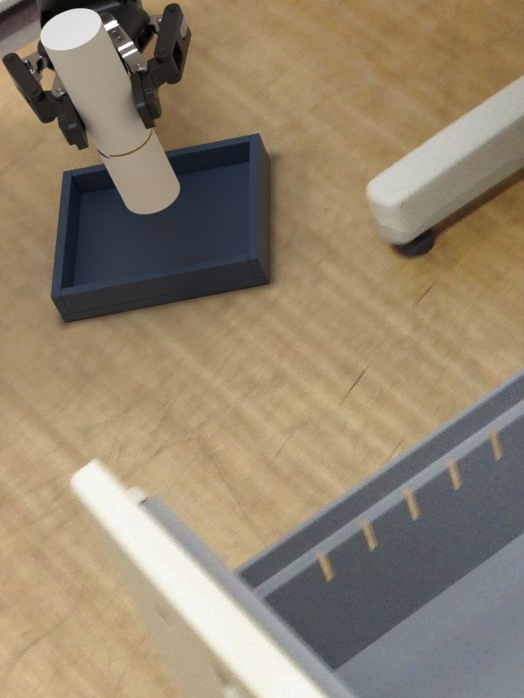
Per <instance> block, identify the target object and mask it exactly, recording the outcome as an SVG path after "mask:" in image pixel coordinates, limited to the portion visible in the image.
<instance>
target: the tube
mask: <svg viewBox="0 0 524 698" xmlns="http://www.w3.org/2000/svg"><path fill="white" fill-rule="evenodd" d="M40 39H41V42H42V44H43V46H44V48H45V50H46V52H47V54H48V56H49V58H50V60H51V62H52V63H53V65H54V67H55V69H56V71H57V73H58V75H59V77H60V79H61V81H62V83H63V85H64V87H65V89H66V91H67V92H68V94H69V96H70V98H71V100H72V102H73V104H74V106H75V108H76V110H77V112H78V114H79V116H80V118H81V120H82V121H83V123H84V125H85V127H86V132H87V134H88V136H89V137H90V139H91V141H92V143H93V146H94V147H95V148H96V150H97V153H98V155H99V156H100V158H101V161H102V162H103V164H105V166H106V168H107V170H108V172H109V174H110V176H111V178H112V180H113V182H114V184H115V186H116V187H117V189H118V191H119V193H120V195H121V197H122V199H123V201H124V203H125V205H126V207H127V208H128V209H129V210H130V211H132V212H134V213H137V214H151V213H155V212H158V211H161V210H163V209H165V208H166V207H168V206H169V205H170V204H172V203H173V202H174V201H175V199H176V198H177V196H178V194H179V191H180V184H179V182H178V180H177V178H176V175H175V173H174V171H173V169H172V167H171V165H170V163H169V161H168V159H167V157H166V154H165V150H164V148H163V146H162V144H161V142H160V140H159V138H158V136H157V133H156V131H155V130H154V127H153V128H150V129H146V128H145V126H144V124H143V122H142V120H141V118H140V116H139V113H138V111H137V109H136V106H135V101H134V96H133V91H132V86H131V81H130V79H129V77H128V75H127V73H126V70H125V68H124V66H123V64H122V62H121V60H120V58H119V56H118V54H117V52H116V49H115V47H114V45H113V43H112V41H111V39H110V37H109V35H108V33H107V31H106V28H105V26H104V24H103V22H102V20H101V18H100V16H99V15H98V14H97V13H96V12H95V11H93V10H90V9H82V8H79V9H72V10H68V11H65V12H63V13H60V14H58V15H57V16H55V17H53V18H52V19H51V20H50V21H48V22H47V23H46V25H45V26H44V27H43V29H42V31H40V34H39V40H40Z"/></svg>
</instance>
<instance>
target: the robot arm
mask: <svg viewBox="0 0 524 698" xmlns="http://www.w3.org/2000/svg"><path fill="white" fill-rule="evenodd" d="M36 6H37V13H38V18H39V27H40V30H41V31H42V29H43V27H44V26H45V25H46V23H47V22H48V21H50V20H51V19H52V18H53V17H55V16H57V15H58V14H60V13H63V12H65V11H68V10H72V9H79V8H82V9H90V10H93V11H95V12H96V13H97V14H98V15H99V16H100V18H101V20H102V22H103V24H104V26H105V28H106V31H107V33H108V35H109V37H110V39H111V41H112V43H113V45H114V47H115V49H116V52H117V54H118V56H119V58H120V60H121V62H122V64H123V66H124V68H125V70H126V73H127V75H128V77H129V79H130V81H131V86H132V91H133V96H134V101H135V106H136V109H137V111H138V113H139V116H140V118H141V120H142V122H143V124H144V126H145V128H146V129H150V128H153V129H154V128H156V127H157V124H156V120H157V119H160V118H161V117H162V114H163V110H162V105H161V100H160V96H159V92H160V87H162V85H164V84H166V83H167V85H171V86H172V85H176V84H178V83H180V82H181V80H182V79H183V75H184V70H185V67H186V61H187V58H188V57H187V56H188V52H189V48H190V43H191V39H192V31H191V29H190V26H189V23H188V21H187V19H186V17H185V14H184V12H183V10H182V8H181V5H180V4H179V3H177V2H173V3H169V4H167V5H166V6H165V7H164V8H163V12H162V13H161V14H155V15H150V14H149V13H148V12H147V11H146V10H145V9H144V7H143V2H142V0H36ZM41 31H40V32H41ZM155 35H157V38H156V42H155V46H154V50H153V56H154V57H151V58H150V59H148V60H147V59H145V57H144V56H143V53H144V52H145V50H146V49H147V48H148V46H149V44H150V43H151V42H152V40H153V39H154V37H155ZM36 49H37V50H36V51H34V52H31V53H30V54H29V55H26V56H25V57H23V58H21V57H20V56H19V54H17V53H16V52H10V53H7V54H5V55H4V56H3V57H2V59H1V61H2V64H3V66H4V67H5V70H6V71H7V73H8V75H9V77H10V79H11V80H12V82H13V84H14V87H16V89H17V91H18V92H19V93H20V95H21V96H22V98H23V99H24V100H25V102H26V104H27V105H28V106H29V107H30V109H31V111H32V112H33V113H34V114H35V116H36V117H37V118H38V120H39V122H40V123H42V124H50V123H52V122H54V121H55V120H56V118H57V124H58V128H59V130H60V132H61V133H62V136H63V138H64V139H65V142H66V143H67V144H68V145H69V146H74V145H75V146H76V148H77V149H78V151H82V150H86V149H89V148H90V145H89V138H88V131H87V129H86V127H85V125H84V123H83V121H82V120H81V118H80V116H79V114H78V112H77V110H76V108H75V106H74V104H73V102H72V100H71V98H70V96H69V94H68V92H67V91H66V89H65V87H64V85H63V83H62V81H61V79H60V77H59V75H58V73H57V71H56V69H55V67H54V65H53V63H52V62H51V60H50V58H49V56H48V54H47V52H46V50H45V48H44V46H43V44H42V42H41V39H40V38H39V40H38V42H37V44H36ZM46 68H47V69H48V70H50V71H52V72H54V73H55V76H54V79H53V83H52V86H51V89H50V90H49V89H48V90H44V89H43V84H42V82H41V81H42V79H44V78H43V72H44V70H45V69H46Z"/></svg>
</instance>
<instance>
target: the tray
mask: <svg viewBox="0 0 524 698" xmlns="http://www.w3.org/2000/svg"><path fill="white" fill-rule="evenodd" d="M164 152H165V154H166V157H167V159H168V161H169V163H170V165H171V167H172V169H173V171H174V173H175V175H176V178H177V180H178V182H179V184H180V191H179V194H178V196H177V198H176V199H175V201H174V202H173V203H172V204H170V205H169V206H168V207H166V208H165V209H163V210H161V211H158V212H155V213H151V214H137V213H134V212H132V211H130V210H129V209H128V208H127V207H126V205H125V203H124V201H123V199H122V197H121V195H120V193H119V191H118V189H117V187H116V186H115V184H114V182H113V180H112V178H111V176H110V174H109V172H108V170H107V168H106V166H105V164H104V163H100V164H95V165H89V166H84V167H79V168H75V169H69V170H64V171H62V177H61V178H62V179H61V189H60V197H59V208H58V210H59V211H58V217H57V226H56V227H57V229H56V230H57V231H56V238H55V239H56V240H55V247H54V259H53V269H52V279H51V288H50V300H51V301H52V303H53V305H54V306H55V308H56V310H57V311H58V313H59V315H60V317H61V319H62V320H63V322H64V323H69V322H74V321H75V322H76V321H80V320H86V319H90V318H96V317H101V316H105V315H106V316H107V315H112V314H117V313H122V312H127V311H132V310H138V309H143V308H147V307H152V306H158V305H163V304H168V303H173V302H178V301H179V302H180V301H185V300H189V299H194V298H195V299H196V298H201V297H204V296H211V295H215V294H220V293H221V294H222V293H227V292H231V291H236V290H241V289H247V288H251V287H257V286H262V285H267V284H270V196H271V195H270V194H271V193H270V190H271V189H270V184H271V183H270V181H271V179H270V177H271V176H270V174H271V173H270V167H271V166H270V165H271V164H270V162H271V160H270V156H269V154H268V151H267V148H266V146H265V144H264V142H263V138H262V136H261V134H260V132H257V133H251V134H246V135H243V136H236V137H231V138H227V139H222V140H216V141H211V142H207V143H206V142H205V143H201V144H195V145H191V146H186V147H180V148H175V149H169V150H164Z"/></svg>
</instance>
